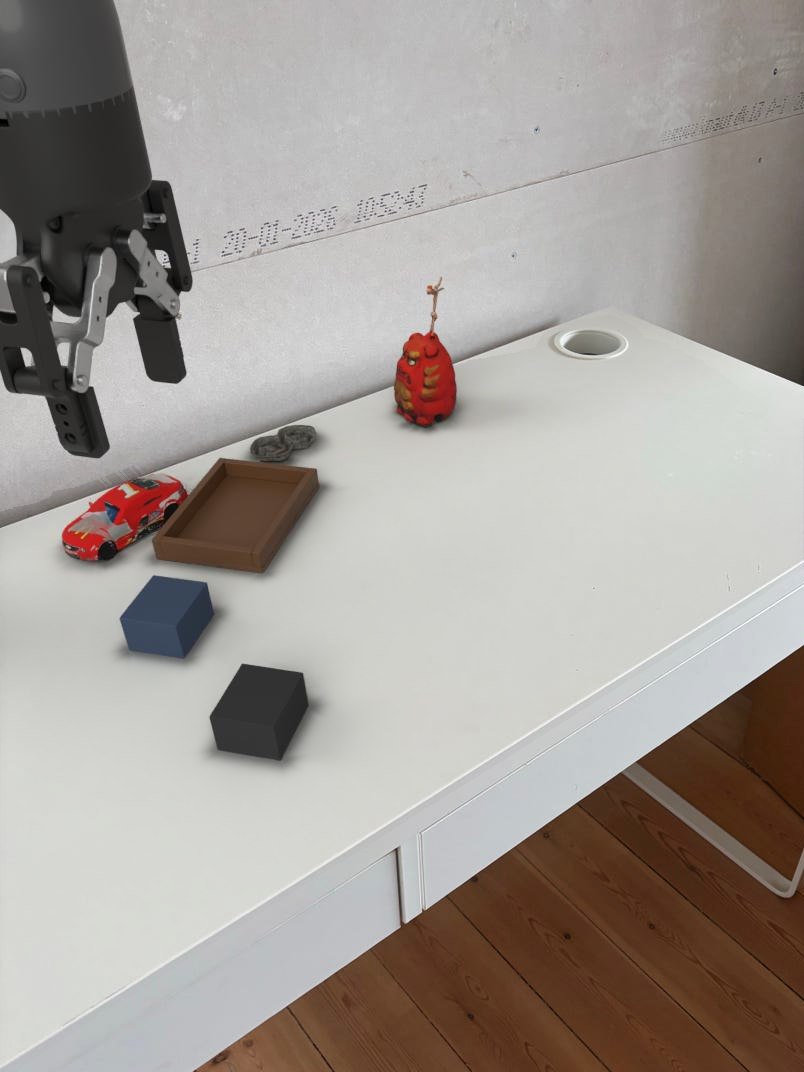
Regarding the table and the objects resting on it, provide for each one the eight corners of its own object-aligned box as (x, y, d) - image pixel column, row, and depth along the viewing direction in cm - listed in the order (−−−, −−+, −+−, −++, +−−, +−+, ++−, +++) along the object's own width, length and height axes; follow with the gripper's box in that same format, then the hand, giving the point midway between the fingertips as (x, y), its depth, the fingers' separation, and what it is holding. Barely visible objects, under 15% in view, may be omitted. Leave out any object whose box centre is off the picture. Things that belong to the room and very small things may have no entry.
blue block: (128, 650, 84) (118, 618, 82) (162, 606, 89) (153, 574, 86) (184, 659, 83) (175, 626, 81) (214, 614, 88) (207, 582, 86)
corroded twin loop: (328, 442, 110) (327, 434, 109) (269, 470, 106) (267, 461, 105) (299, 427, 113) (298, 418, 112) (240, 454, 108) (238, 445, 108)
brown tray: (156, 559, 94) (151, 539, 93) (223, 475, 105) (219, 457, 104) (262, 573, 92) (259, 553, 91) (319, 487, 103) (317, 468, 102)
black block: (217, 750, 75) (208, 716, 73) (249, 696, 80) (241, 663, 78) (280, 761, 75) (273, 727, 72) (308, 705, 79) (303, 672, 77)
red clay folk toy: (384, 409, 116) (373, 279, 106) (436, 392, 119) (430, 265, 109) (418, 435, 111) (411, 302, 102) (472, 418, 114) (469, 286, 104)
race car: (89, 573, 93) (77, 537, 90) (53, 553, 95) (41, 517, 92) (200, 509, 100) (192, 474, 98) (164, 491, 103) (155, 457, 100)
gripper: (58, 47, 51) (134, 353, 61) (-141, 119, 40) (-9, 473, 51) (195, 53, 49) (248, 366, 60) (25, 128, 39) (126, 492, 49)
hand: (130, 415), depth 55 cm, fingers open, 8 cm apart
